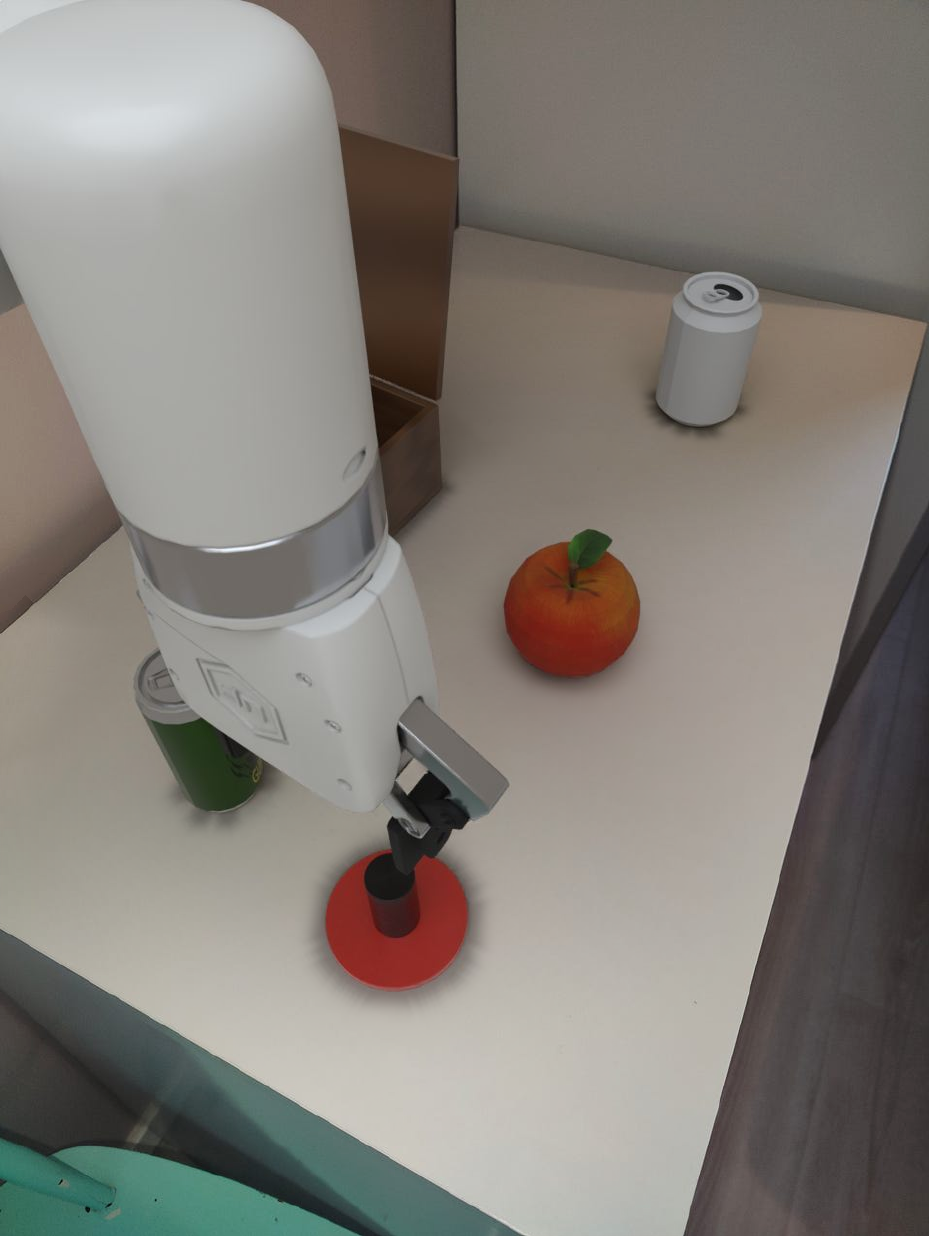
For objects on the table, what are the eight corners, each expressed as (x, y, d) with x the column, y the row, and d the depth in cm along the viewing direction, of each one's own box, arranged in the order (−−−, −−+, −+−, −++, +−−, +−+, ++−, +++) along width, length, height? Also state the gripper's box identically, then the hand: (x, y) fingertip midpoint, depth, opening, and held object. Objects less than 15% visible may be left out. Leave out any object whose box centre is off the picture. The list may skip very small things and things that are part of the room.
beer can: (194, 829, 57) (140, 728, 48) (175, 762, 61) (120, 655, 51) (275, 797, 59) (238, 693, 50) (252, 733, 62) (213, 624, 53)
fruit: (474, 652, 66) (473, 559, 58) (553, 578, 71) (562, 483, 63) (579, 724, 62) (594, 635, 54) (656, 641, 67) (679, 547, 59)
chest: (317, 612, 69) (300, 530, 62) (181, 537, 74) (151, 454, 67) (442, 488, 77) (439, 404, 71) (312, 428, 83) (297, 345, 76)
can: (752, 412, 83) (787, 294, 74) (693, 443, 81) (720, 324, 71) (696, 372, 87) (721, 255, 78) (637, 400, 85) (656, 283, 75)
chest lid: (453, 160, 58) (460, 158, 59) (282, 110, 64) (290, 108, 64) (435, 401, 70) (441, 398, 71) (293, 342, 75) (299, 339, 76)
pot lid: (315, 986, 51) (298, 949, 47) (338, 848, 57) (325, 802, 52) (462, 996, 51) (460, 959, 46) (472, 856, 56) (471, 810, 51)
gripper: (-30, 466, 28) (137, 753, 41) (415, 731, 22) (444, 971, 35) (151, 348, 32) (251, 645, 45) (575, 542, 25) (547, 823, 39)
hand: (335, 786), depth 40 cm, fingers open, 9 cm apart
